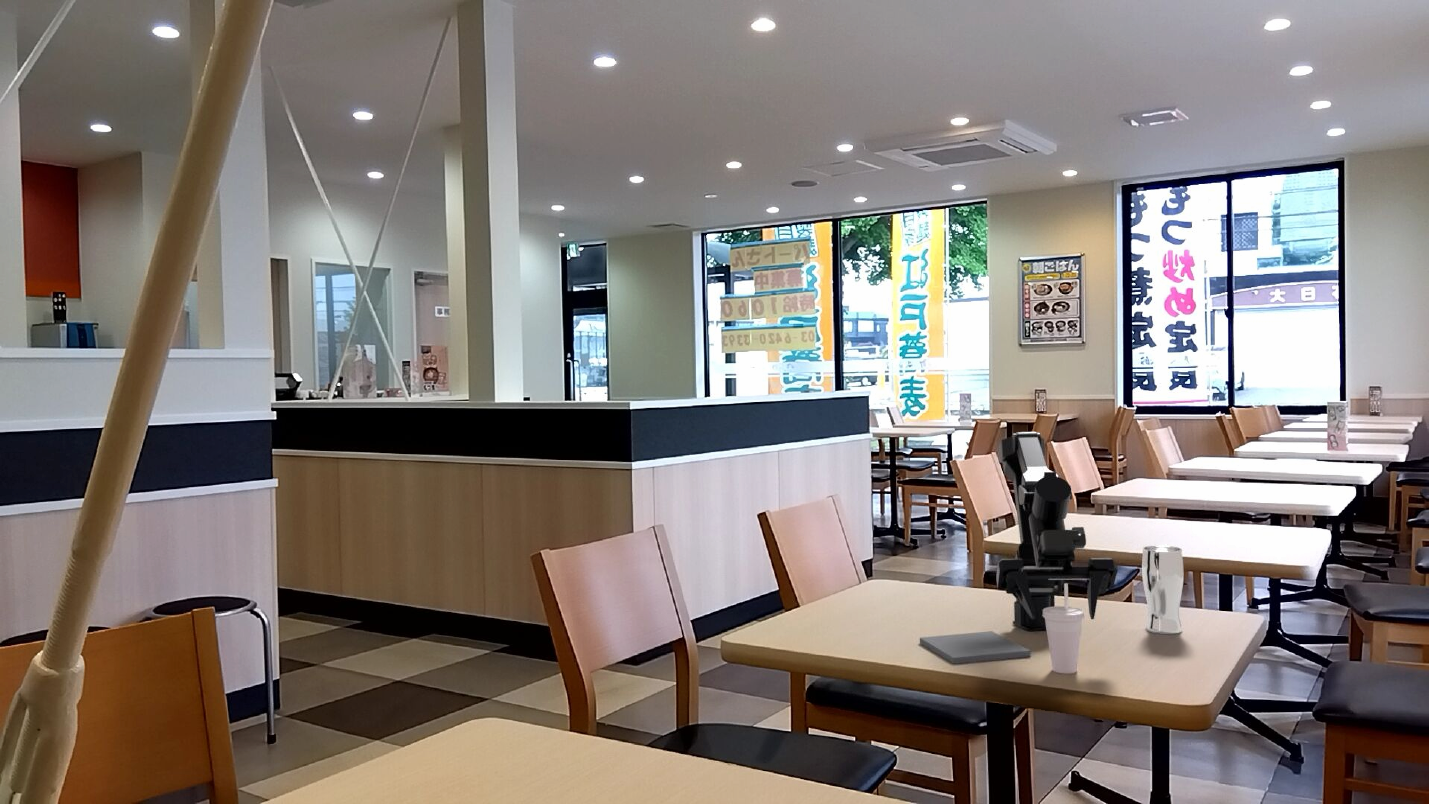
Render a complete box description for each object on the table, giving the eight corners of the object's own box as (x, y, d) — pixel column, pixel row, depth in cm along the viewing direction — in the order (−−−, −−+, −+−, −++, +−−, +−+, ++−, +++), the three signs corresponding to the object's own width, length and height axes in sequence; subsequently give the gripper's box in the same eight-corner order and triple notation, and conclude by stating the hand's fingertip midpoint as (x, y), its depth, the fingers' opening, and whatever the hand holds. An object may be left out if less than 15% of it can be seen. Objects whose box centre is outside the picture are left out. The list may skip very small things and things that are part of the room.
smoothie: (1091, 675, 165) (1089, 587, 165) (1050, 676, 165) (1048, 588, 165) (1077, 664, 172) (1075, 579, 171) (1038, 665, 172) (1036, 580, 172)
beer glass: (1134, 628, 193) (1133, 547, 193) (1163, 624, 196) (1161, 544, 196) (1164, 636, 187) (1162, 553, 187) (1193, 631, 190) (1191, 549, 189)
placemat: (991, 636, 191) (991, 631, 191) (1030, 656, 177) (1030, 650, 177) (919, 643, 188) (919, 637, 188) (953, 663, 174) (953, 657, 174)
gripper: (996, 510, 175) (1007, 589, 164) (1113, 509, 172) (1131, 589, 161) (992, 550, 183) (1002, 628, 172) (1103, 549, 180) (1120, 628, 169)
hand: (1063, 617), depth 169 cm, fingers open, 9 cm apart
